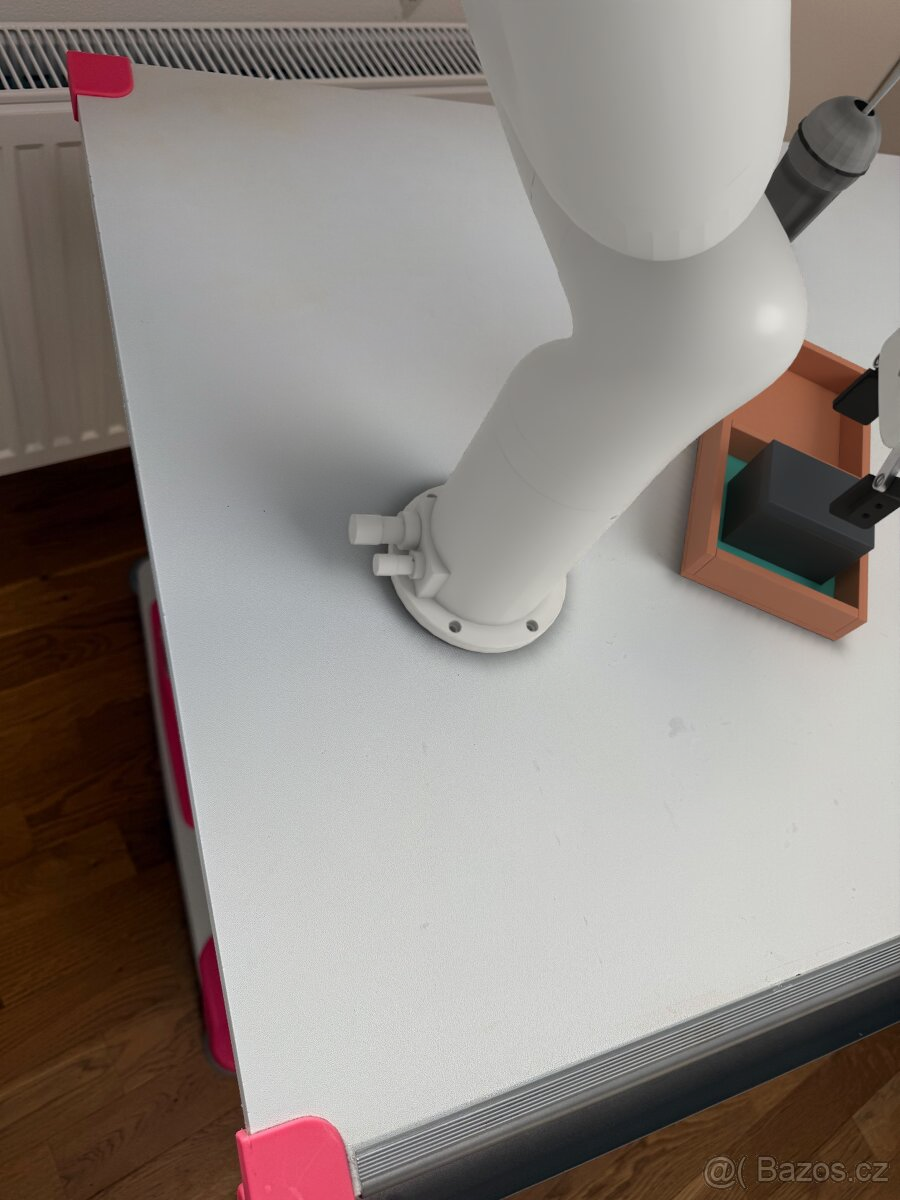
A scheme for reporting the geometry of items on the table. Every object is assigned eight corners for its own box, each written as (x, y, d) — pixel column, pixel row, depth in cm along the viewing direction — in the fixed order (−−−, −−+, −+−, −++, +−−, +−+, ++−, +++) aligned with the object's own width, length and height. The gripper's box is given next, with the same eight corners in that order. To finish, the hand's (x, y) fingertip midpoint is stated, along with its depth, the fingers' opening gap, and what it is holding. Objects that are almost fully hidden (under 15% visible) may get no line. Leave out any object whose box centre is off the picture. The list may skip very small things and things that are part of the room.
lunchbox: (720, 541, 74) (767, 500, 69) (727, 482, 77) (773, 438, 72) (821, 585, 75) (875, 548, 70) (824, 525, 78) (876, 485, 73)
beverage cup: (785, 231, 96) (934, 48, 80) (790, 283, 93) (948, 102, 76) (721, 207, 95) (860, 13, 78) (724, 258, 91) (870, 67, 74)
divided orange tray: (679, 575, 72) (706, 551, 69) (714, 334, 86) (737, 306, 83) (835, 641, 74) (867, 621, 71) (844, 396, 88) (872, 371, 85)
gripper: (996, 169, 57) (806, 357, 71) (1020, 370, 48) (796, 540, 62) (1096, 227, 59) (890, 400, 73) (1137, 432, 49) (893, 585, 64)
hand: (847, 464), depth 67 cm, fingers open, 9 cm apart
